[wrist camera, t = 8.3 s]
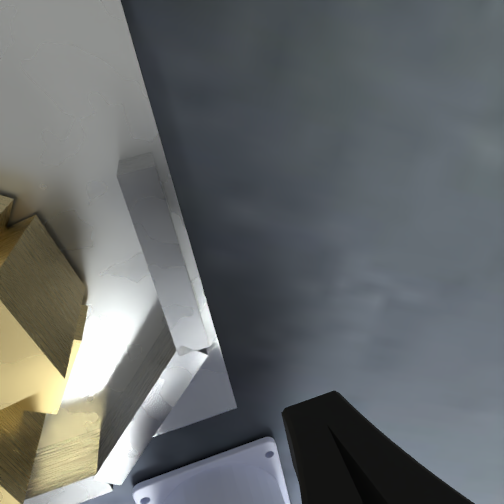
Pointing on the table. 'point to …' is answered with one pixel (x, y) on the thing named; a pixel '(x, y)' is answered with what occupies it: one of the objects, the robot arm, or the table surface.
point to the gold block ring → (32, 342)
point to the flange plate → (104, 242)
